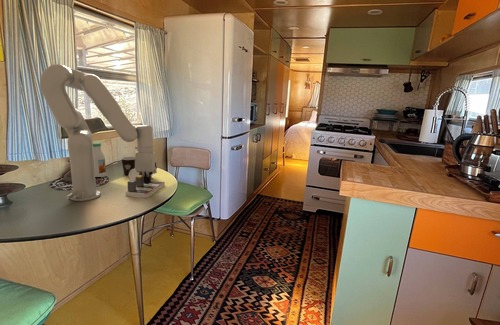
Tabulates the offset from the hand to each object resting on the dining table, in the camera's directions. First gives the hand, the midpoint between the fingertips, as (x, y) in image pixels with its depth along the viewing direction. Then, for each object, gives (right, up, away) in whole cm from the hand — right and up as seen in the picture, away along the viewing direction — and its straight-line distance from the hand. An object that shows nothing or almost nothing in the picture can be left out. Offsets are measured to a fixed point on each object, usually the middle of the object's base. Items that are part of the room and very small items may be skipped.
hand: (147, 183), depth 142 cm
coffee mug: (-20, +4, +26) cm, 33 cm away
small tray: (-1, -4, +1) cm, 4 cm away
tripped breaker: (-4, -1, 0) cm, 4 cm away
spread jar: (-11, +1, +18) cm, 21 cm away
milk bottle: (-36, +3, +18) cm, 40 cm away
